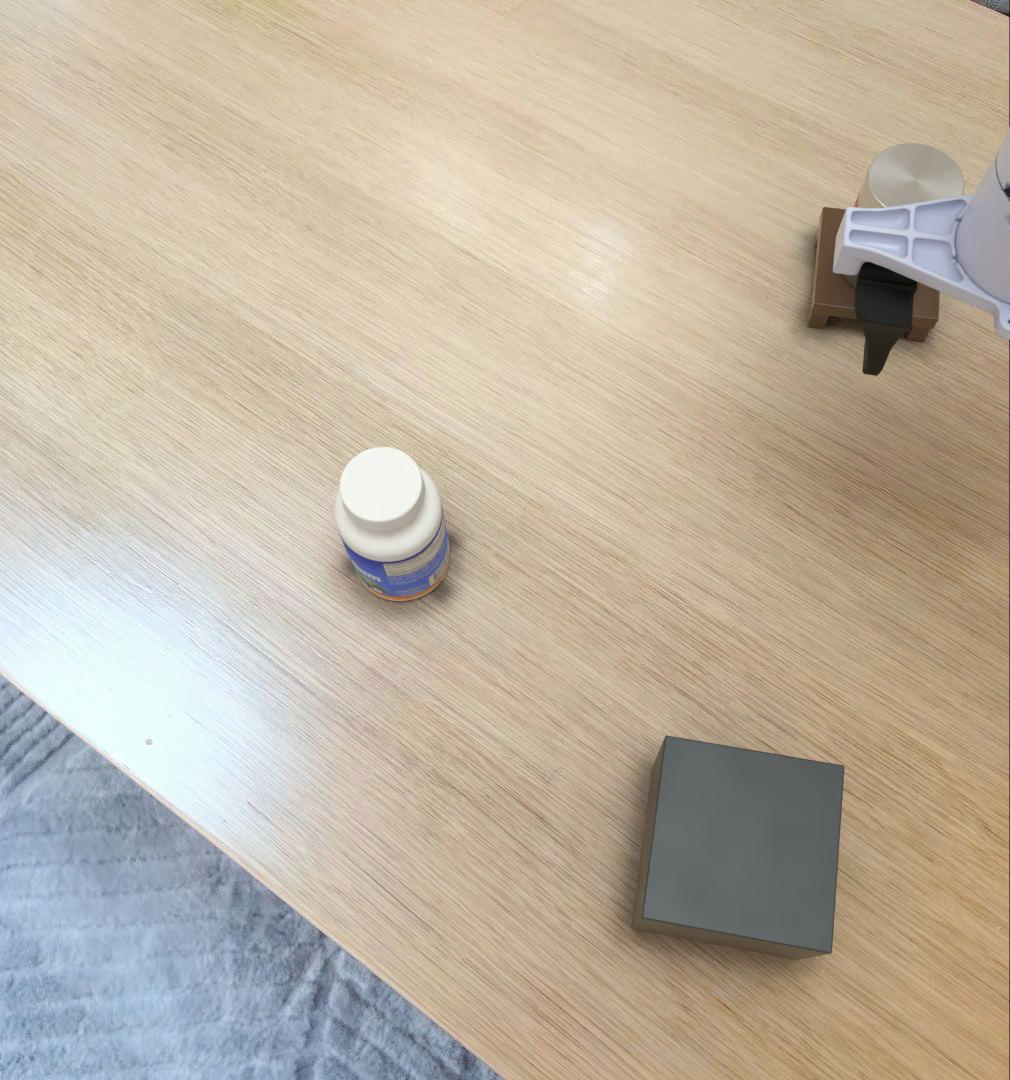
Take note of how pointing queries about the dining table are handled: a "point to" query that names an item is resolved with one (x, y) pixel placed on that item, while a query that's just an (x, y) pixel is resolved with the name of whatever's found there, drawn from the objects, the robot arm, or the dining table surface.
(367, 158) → the dining table surface
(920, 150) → the can
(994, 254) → the robot arm
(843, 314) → the stool
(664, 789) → the square coaster
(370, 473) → the pill bottle
